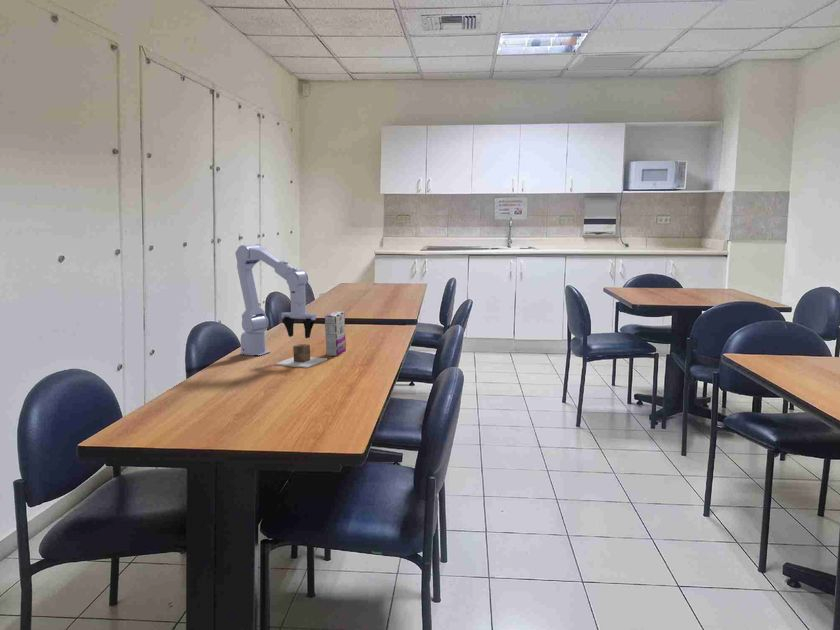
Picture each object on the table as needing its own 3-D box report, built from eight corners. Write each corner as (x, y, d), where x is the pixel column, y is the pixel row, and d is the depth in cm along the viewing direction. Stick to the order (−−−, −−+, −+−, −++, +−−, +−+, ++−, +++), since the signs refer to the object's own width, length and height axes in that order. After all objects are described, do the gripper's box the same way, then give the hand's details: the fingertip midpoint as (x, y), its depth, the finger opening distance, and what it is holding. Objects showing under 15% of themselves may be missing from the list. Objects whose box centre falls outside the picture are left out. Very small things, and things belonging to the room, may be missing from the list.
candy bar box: (334, 350, 264) (333, 311, 262) (346, 350, 263) (345, 311, 261) (325, 356, 253) (324, 315, 251) (337, 356, 252) (336, 315, 250)
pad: (275, 365, 239) (275, 363, 238) (296, 357, 251) (296, 355, 251) (307, 368, 233) (307, 366, 233) (327, 360, 246) (327, 358, 246)
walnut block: (293, 361, 241) (293, 346, 240) (300, 359, 245) (299, 343, 244) (304, 362, 239) (303, 347, 239) (310, 360, 244) (309, 344, 243)
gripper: (276, 302, 243) (277, 337, 245) (308, 304, 238) (309, 340, 240) (286, 300, 250) (288, 334, 252) (318, 302, 244) (319, 337, 246)
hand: (299, 337), depth 246 cm, fingers open, 7 cm apart
